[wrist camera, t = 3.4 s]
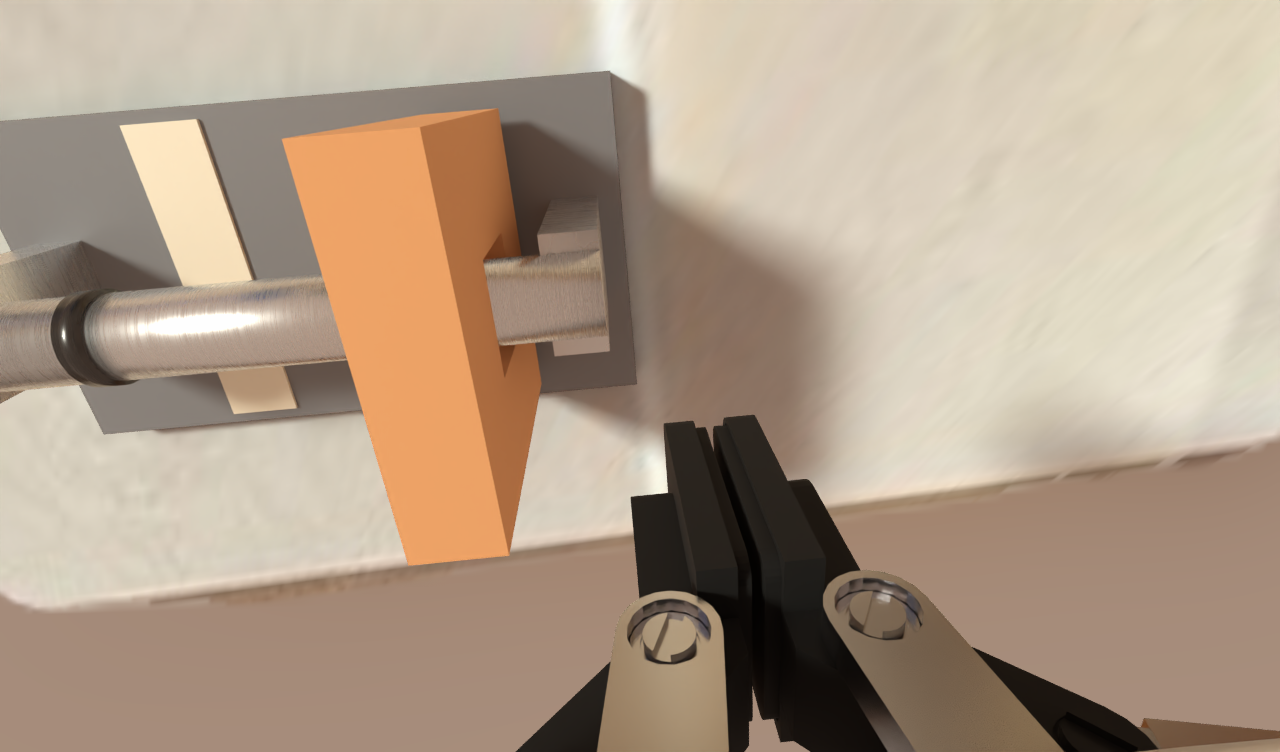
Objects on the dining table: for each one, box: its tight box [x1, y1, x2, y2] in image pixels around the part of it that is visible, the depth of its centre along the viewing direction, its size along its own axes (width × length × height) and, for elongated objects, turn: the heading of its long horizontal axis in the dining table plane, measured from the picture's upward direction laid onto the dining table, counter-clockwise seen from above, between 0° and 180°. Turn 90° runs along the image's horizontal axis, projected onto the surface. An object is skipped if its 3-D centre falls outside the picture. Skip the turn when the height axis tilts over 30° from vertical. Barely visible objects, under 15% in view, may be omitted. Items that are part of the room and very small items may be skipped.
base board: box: [0, 71, 637, 434], centre depth 29 cm, size 26×14×2 cm, turn 94°
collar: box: [282, 108, 542, 565], centre depth 22 cm, size 3×12×12 cm, turn 4°
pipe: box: [0, 196, 610, 403], centre depth 24 cm, size 24×4×9 cm, turn 94°
